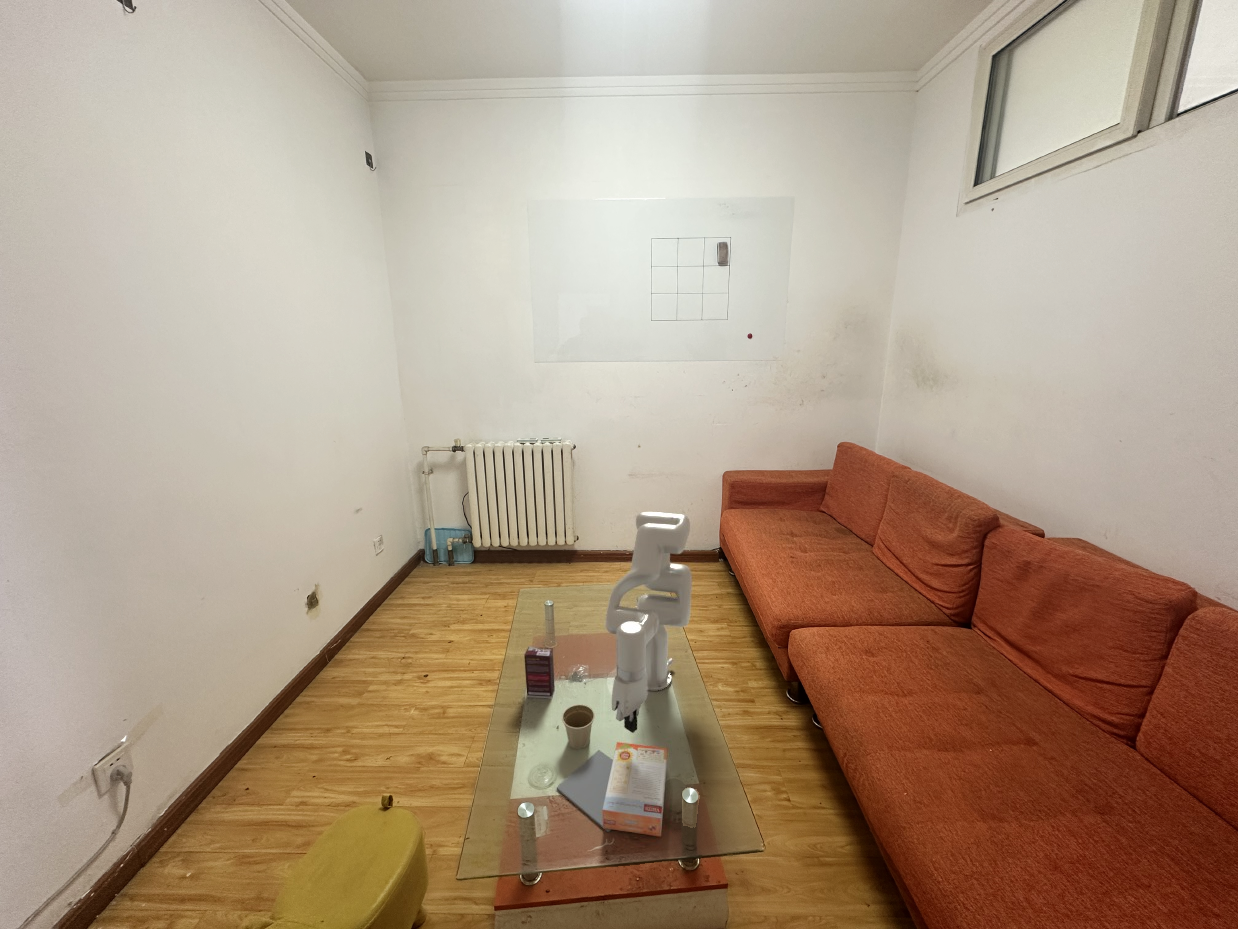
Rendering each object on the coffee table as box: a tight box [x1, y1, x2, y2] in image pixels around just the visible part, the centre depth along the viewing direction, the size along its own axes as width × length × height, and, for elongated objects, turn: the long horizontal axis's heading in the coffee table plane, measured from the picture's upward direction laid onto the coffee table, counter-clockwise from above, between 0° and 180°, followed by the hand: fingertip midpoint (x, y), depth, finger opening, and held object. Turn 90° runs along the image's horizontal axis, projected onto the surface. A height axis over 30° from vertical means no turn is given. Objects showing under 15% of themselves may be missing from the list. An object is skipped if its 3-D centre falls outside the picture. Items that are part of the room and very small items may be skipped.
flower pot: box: [561, 704, 596, 750], centre depth 141 cm, size 9×9×9 cm
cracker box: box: [602, 741, 668, 837], centre depth 124 cm, size 14×6×21 cm
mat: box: [556, 749, 613, 833], centre depth 127 cm, size 16×18×1 cm
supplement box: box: [523, 646, 556, 699], centre depth 160 cm, size 9×5×16 cm, turn 85°
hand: (630, 728), depth 131 cm, fingers closed
